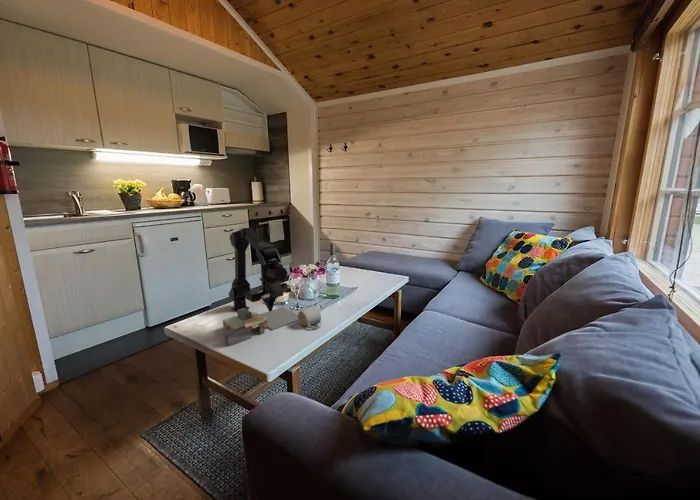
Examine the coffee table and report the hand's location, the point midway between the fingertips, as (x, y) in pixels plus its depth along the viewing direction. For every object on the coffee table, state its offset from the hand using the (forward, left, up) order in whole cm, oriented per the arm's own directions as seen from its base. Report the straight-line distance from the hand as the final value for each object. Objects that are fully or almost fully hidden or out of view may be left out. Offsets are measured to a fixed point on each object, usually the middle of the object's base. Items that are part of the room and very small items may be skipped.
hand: (270, 311), depth 136 cm
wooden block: (0, -8, -3) cm, 9 cm away
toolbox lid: (-6, -8, -4) cm, 11 cm away
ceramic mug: (+9, +15, -9) cm, 19 cm away
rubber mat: (-7, +8, -8) cm, 14 cm away
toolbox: (-6, -10, -8) cm, 14 cm away
